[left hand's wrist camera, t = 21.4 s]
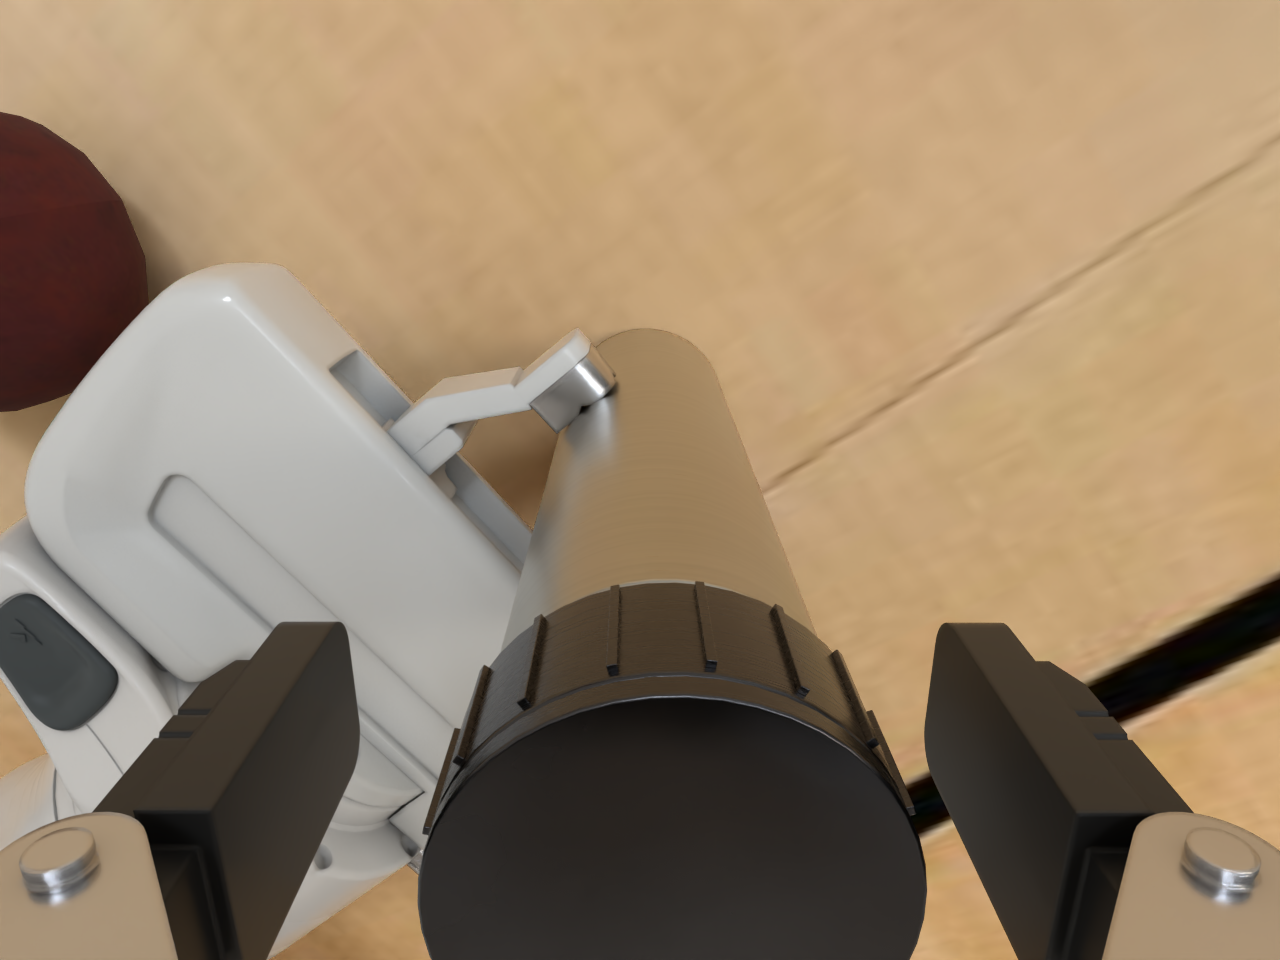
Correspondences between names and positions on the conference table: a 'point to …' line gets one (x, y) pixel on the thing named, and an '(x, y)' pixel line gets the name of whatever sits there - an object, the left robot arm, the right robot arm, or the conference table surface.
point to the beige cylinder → (652, 492)
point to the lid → (669, 795)
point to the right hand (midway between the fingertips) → (677, 449)
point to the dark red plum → (59, 265)
